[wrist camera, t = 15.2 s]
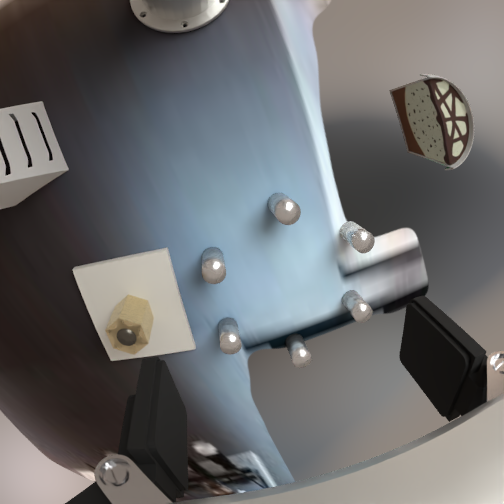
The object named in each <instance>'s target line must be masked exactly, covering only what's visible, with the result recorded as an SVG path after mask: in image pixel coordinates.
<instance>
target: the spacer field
mask: <svg viewBox="0 0 504 504" xmlns="http://www.w3.org/2000/svg"><path fill="white" fill-rule="evenodd" d="M268 207H269V209H270V211H271V212H272V213H273V214H274V215H275V217H276V218H277V219H278V220H279V221H280V222H281V223H282V224H285V225H291V224H294V223H295V222H296V221H297V220H298V219H299V217H300V213H301V212H300V207H299V206H298V204H297V203H295V202H294V201H293V200H291V199H290V198H289V197H288V196H286V195H285V194H283V193H275V194H273V195H272V196H271V197H270V198H269V200H268ZM340 235H341V237H342V238H343V239H344V240H345V241H346V242H347V243H349V244H350V245H351V246H352V247H354V248H355V249H356V250H357V251H358V252H360V253H367V252H369V251H370V250H371V249H372V248H373V246H374V237H373V235H372V234H371V233H369V232H368V231H366V230H365V229H363V228H362V227H360V226H359V225H357V224H356V223H354V222H352V221H348V222H346V223H344V224H343V225H342V227H341V229H340ZM202 276H203V278H204V280H205V281H206V282H208V283H211V284H217V283H220V282H221V281H223V280H224V278H225V276H226V269H225V263H224V257H223V253H222V251H221V250H220V249H218V248H216V247H210V248H207V249H206V250H205V251H204V252H203V254H202ZM342 303H343V304H344V306H345V307H346V308H347V309H348V311H349V312H350V313H351V315H352V316H353V317H354V319H355V320H356V321H357V322H358V323H364V322H366V321H368V320H369V319H370V318H371V316H372V309H371V307H370V306H369V305H368V304H367V303H366V302H365V301H364V300H363V298H362V297H361V296H360V295H359V294H358V293H357V292H356V291H354V290H350V291H348V292H346V293H345V294H344V295H343V298H342ZM218 328H219V338H220V347H221V350H222V351H223V352H224V353H226V354H235V353H237V352H238V351H239V350H240V349H241V340H240V335H239V330H238V325H237V322H236V320H234V319H233V318H224V319H222V320H221V321H220V322H219V324H218ZM285 343H286V346H287V348H288V351H289V354H290V356H291V359H292V361H293V364H294V366H296V367H298V368H303V367H306V366H307V365H309V364H310V362H311V361H312V357H311V355H310V353H309V350H308V348H307V346H306V344H305V342H304V340H303V338H302V336H301V335H300V334H292V335H290V336H288V337H287V339H286V342H285Z"/></svg>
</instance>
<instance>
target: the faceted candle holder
mask: <svg viewBox="0 0 504 504" xmlns="http://www.w3.org/2000/svg"><path fill="white" fill-rule="evenodd" d="M153 320H154V316H153V314H152V311H151V308H150V305H149V302H148V300H145V299H142V298H138V297H135V296H132V295H129V294H128V295H127V296H126V297H125V298H124V299H122V300H121V301H120V302H119V303H118V304H117V305H116V306H115V308H114V310H113V313H112V315H111V317H110V320H109V322H108V324H107V327H106V329H105V331H106V334H107V336H108V338H109V340H110V343H111V345H112V347H113V348H114V349H117V350H120V351H123V352H127V353H130V354H133V355H135V354H136V353H137V352H139V351H140V350H141V349H142V348H144V347H145V346H146V345H147V344H149V339H150V334H151V330H152V325H153Z"/></svg>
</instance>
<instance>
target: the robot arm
mask: <svg viewBox="0 0 504 504" xmlns="http://www.w3.org/2000/svg"><path fill="white" fill-rule="evenodd" d="M220 2H223V3H220ZM228 2H229V0H130V4H131V8H132V10H133V12H134V14H135V16H136V17H137V19H138V20H139V21H140V22H142V23H143V24H144V25H146V26H147V27H149V28H151V29H154V30H157V31H160V32H166V33H181V32H188V31H192V30H195V29H198V28H201V27H203V26H205V25H207V24H209V23H210V22H212V21H213V20H215V19H216V18H217V17H218V16H219V15H220V14H221V13H222V12H223V11H224V9H225V8H226V7H227V4H228ZM144 15H146V16H145V17H143V16H144ZM184 25H187V27H183V26H184ZM485 354H486V351H485V350H484V349H483V348H482V347H481V346H480V345H479V344H478V343H477V342H476V341H475V340H474V339H473V338H471V337H470V336H469V335H468V334H467V333H466V332H465V331H464V330H463V329H462V328H461V327H459V326H458V325H457V324H456V323H455V322H454V321H453V320H452V319H451V318H449V317H448V316H447V315H446V314H445V313H444V312H443V311H442V310H440V309H439V308H438V307H437V306H436V305H434V304H433V303H432V302H431V301H430V300H429V299H428V298H426V297H425V296H420V297H417V298H414V299H412V300H410V302H409V304H408V305H407V307H406V315H405V323H404V330H403V337H402V343H401V349H400V361H401V363H402V364H403V365H404V366H405V368H406V369H407V371H408V372H409V373H410V375H411V376H412V377H413V378H414V380H415V381H416V382H417V384H418V385H419V386H420V388H421V389H422V390H423V392H424V393H425V394H426V396H427V397H428V398H429V400H430V401H431V402H432V404H433V405H434V406H435V408H436V409H437V410H438V412H439V413H440V414H441V416H443V417H444V416H445V417H446V418H447V419H448V421H449V422H450V421H451V420H453V419H455V418H457V417H459V416H460V415H461V417H460V418H458V419H456V420H454V421H452V422H451V423H449V424H447V425H445V426H443V427H441V428H439V429H437V430H435V431H433V432H431V433H429V434H427V435H425V436H423V437H421V438H419V439H417V440H414V441H412V442H410V443H408V444H406V445H403V446H401V447H399V448H396V449H394V450H392V451H389V452H387V453H384V454H382V455H379V456H377V457H374V458H371V459H369V460H366V461H363V462H360V463H358V464H355V465H352V466H349V467H346V468H343V469H340V470H337V471H334V472H330V473H327V474H324V475H320V476H316V477H313V478H309V479H305V480H301V481H297V482H293V483H289V484H285V485H280V486H276V487H271V488H266V489H261V490H255V491H250V492H244V493H238V494H232V495H225V496H218V497H209V498H202V499H195V500H187V501H181V502H176V498H180V497H184V490H187V489H188V464H187V413H186V408H185V406H184V404H183V402H182V399H181V397H180V395H179V393H178V390H177V388H176V386H175V383H174V381H173V379H172V376H171V374H170V372H169V369H168V367H167V364H166V362H165V361H164V360H162V361H160V359H159V358H158V357H155V358H147V359H143V360H142V364H141V369H140V374H139V379H138V385H137V390H136V395H132V396H129V398H128V401H127V406H126V411H125V416H124V422H123V427H122V433H121V439H120V445H119V451H118V455H111V456H108V457H106V458H104V459H103V460H102V461H100V462H99V464H98V465H97V467H96V469H95V480H96V482H94V483H93V484H92V485H90V486H89V487H88V488H86V489H85V490H84V491H83V492H81V493H79V494H78V495H77V496H75V497H74V498H72V499H71V500H70V501H68V502H67V503H65V504H504V351H496V352H493V353H492V354H490V355H489V357H487V356H486V355H485Z"/></svg>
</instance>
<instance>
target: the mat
mask: <svg viewBox="0 0 504 504" xmlns="http://www.w3.org/2000/svg"><path fill="white" fill-rule="evenodd" d="M73 273H74V276H75V279H76V281H77V284H78V287H79V289H80V292H81V294H82V297H83V299H84V302H85V304H86V307H87V309H88V312H89V314H90V316H91V319H92V321H93V323H94V325H95V328H96V330H97V332H98V334H99V337H100V339H101V341H102V343H103V345H104V347H105V349H106V351H107V353H108V355H109V357H110V360H111V361H115V360H123V359H132V358H140V357H147V356H154V355H161V354H168V353H175V352H181V351H188V350H194V349H196V345H195V342H194V338H193V335H192V332H191V329H190V325H189V322H188V319H187V316H186V312H185V309H184V305H183V302H182V298H181V295H180V291H179V288H178V284H177V281H176V277H175V273H174V270H173V266H172V262H171V258H170V254H169V250H168V248H163V249H158V250H153V251H148V252H143V253H138V254H133V255H129V256H124V257H119V258H114V259H109V260H105V261H100V262H95V263H91V264H86V265H81V266H77V267H74V268H73ZM128 294H129V295H132V296H135V297H138V298H142V299H145V300H148V302H149V305H150V308H151V311H152V314H153V316H154V320H153V325H152V330H151V334H150V339H149V344H147V345H146V346H145V347H144V348H142V349H141V350H140V351H139V352H137V353H136V354H135V355H133V354H130V353H127V352H123V351H120V350H117V349H114V348H113V347H112V345H111V343H110V340H109V338H108V336H107V334H106V331H105V329H106V327H107V324H108V322H109V320H110V317H111V315H112V313H113V310H114V308H115V306H116V305H117V304H118V303H119V302H120V301H121V300H122V299H124V298H125V297H126V296H127V295H128Z"/></svg>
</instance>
